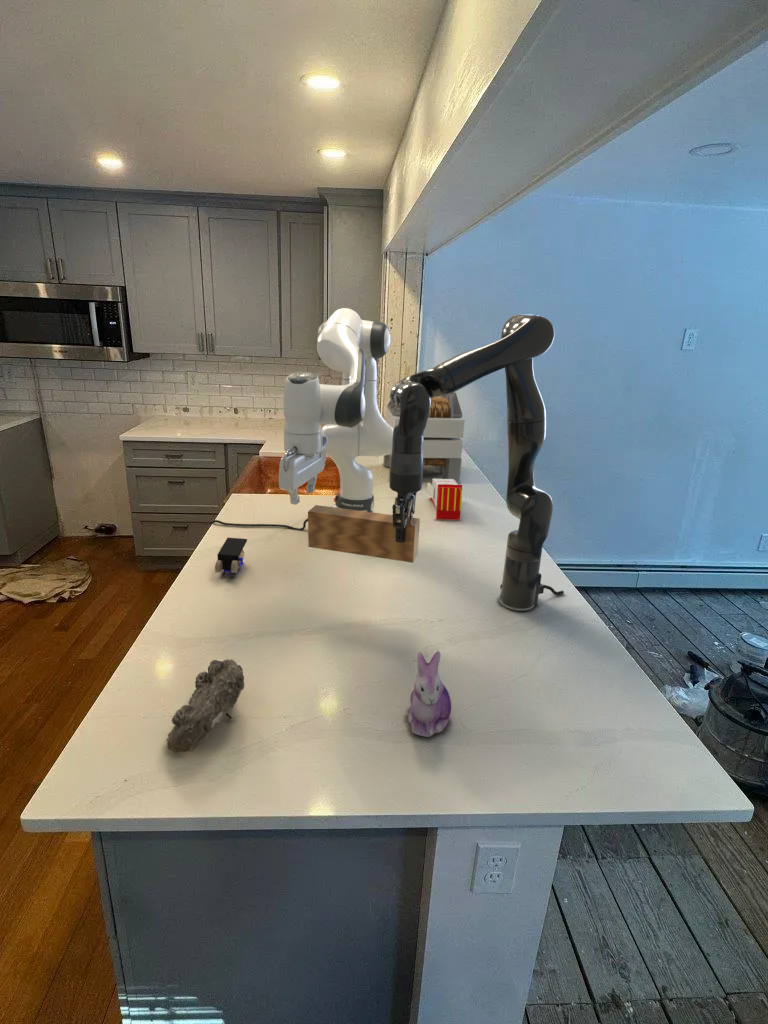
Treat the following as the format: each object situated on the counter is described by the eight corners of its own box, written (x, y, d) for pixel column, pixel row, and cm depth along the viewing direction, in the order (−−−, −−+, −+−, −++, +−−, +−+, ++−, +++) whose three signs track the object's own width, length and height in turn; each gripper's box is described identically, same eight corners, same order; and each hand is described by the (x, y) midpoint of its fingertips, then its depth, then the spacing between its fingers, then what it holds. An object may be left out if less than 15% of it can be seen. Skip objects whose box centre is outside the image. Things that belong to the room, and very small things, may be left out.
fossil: (192, 660, 117) (244, 628, 112) (224, 691, 120) (276, 661, 115) (142, 746, 98) (202, 712, 93) (182, 779, 101) (242, 748, 96)
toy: (454, 474, 240) (466, 486, 210) (452, 505, 242) (464, 521, 213) (426, 473, 239) (434, 485, 210) (424, 504, 242) (432, 520, 212)
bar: (308, 547, 141) (307, 511, 138) (316, 539, 146) (315, 504, 143) (413, 562, 135) (415, 525, 131) (417, 554, 139) (419, 518, 136)
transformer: (382, 463, 289) (386, 382, 275) (445, 464, 293) (451, 384, 279) (390, 482, 257) (394, 392, 243) (460, 483, 261) (468, 394, 247)
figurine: (421, 746, 103) (427, 677, 98) (394, 712, 111) (398, 646, 106) (464, 731, 107) (471, 664, 102) (435, 699, 116) (441, 635, 110)
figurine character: (238, 584, 162) (249, 557, 175) (236, 562, 158) (247, 536, 172) (215, 584, 161) (227, 556, 175) (212, 561, 158) (225, 535, 171)
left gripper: (296, 454, 125) (297, 512, 130) (330, 435, 144) (329, 487, 148) (270, 451, 127) (272, 509, 131) (307, 433, 145) (307, 484, 150)
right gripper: (415, 479, 123) (411, 551, 129) (428, 463, 136) (424, 529, 142) (382, 475, 125) (379, 546, 131) (398, 460, 138) (395, 525, 144)
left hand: (303, 497), depth 140 cm, fingers open, 8 cm apart
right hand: (403, 537), depth 136 cm, fingers closed on bar, 5 cm apart
